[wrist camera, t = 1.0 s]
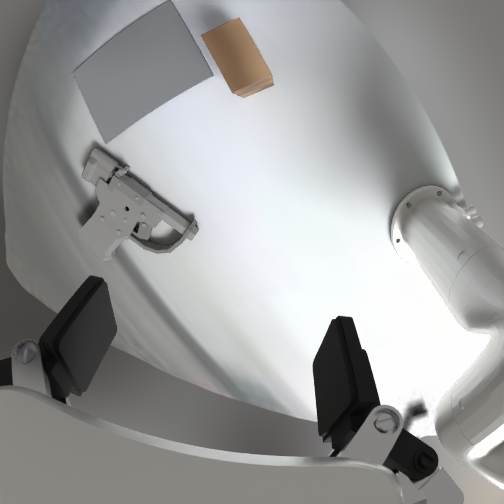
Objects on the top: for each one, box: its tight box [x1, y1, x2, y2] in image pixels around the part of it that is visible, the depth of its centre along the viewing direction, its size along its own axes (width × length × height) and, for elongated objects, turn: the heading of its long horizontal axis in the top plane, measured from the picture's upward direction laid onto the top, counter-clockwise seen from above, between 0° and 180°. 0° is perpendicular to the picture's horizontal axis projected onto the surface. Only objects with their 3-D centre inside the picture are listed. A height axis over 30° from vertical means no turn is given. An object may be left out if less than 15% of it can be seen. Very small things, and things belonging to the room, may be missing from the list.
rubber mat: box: [73, 0, 214, 144], centre depth 28 cm, size 18×14×1 cm
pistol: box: [78, 147, 199, 262], centre depth 38 cm, size 20×3×16 cm
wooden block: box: [201, 18, 274, 98], centre depth 24 cm, size 4×7×9 cm, turn 25°
